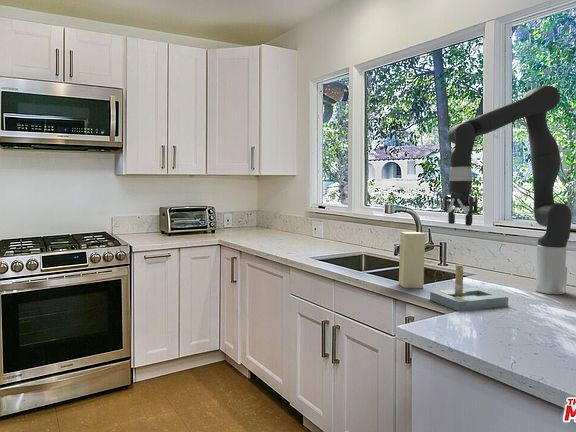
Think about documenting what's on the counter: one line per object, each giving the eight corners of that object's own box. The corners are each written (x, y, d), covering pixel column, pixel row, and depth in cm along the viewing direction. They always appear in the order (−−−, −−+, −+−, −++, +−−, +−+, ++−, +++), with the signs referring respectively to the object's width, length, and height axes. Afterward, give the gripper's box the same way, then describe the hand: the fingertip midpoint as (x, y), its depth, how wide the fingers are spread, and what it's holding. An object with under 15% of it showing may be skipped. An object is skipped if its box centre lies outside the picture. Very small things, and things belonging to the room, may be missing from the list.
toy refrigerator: (417, 283, 175) (419, 231, 174) (424, 288, 168) (425, 233, 166) (398, 283, 175) (399, 231, 174) (403, 288, 168) (404, 233, 166)
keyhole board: (476, 295, 157) (477, 286, 157) (507, 305, 144) (508, 296, 144) (430, 299, 151) (430, 291, 151) (458, 311, 138) (458, 301, 137)
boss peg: (459, 301, 149) (460, 263, 148) (468, 305, 145) (470, 266, 144) (448, 302, 148) (449, 264, 147) (457, 306, 143) (458, 266, 142)
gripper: (483, 179, 152) (482, 225, 154) (454, 179, 166) (454, 222, 167) (466, 179, 150) (465, 226, 151) (438, 180, 163) (438, 223, 164)
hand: (459, 224), depth 159 cm, fingers open, 8 cm apart
